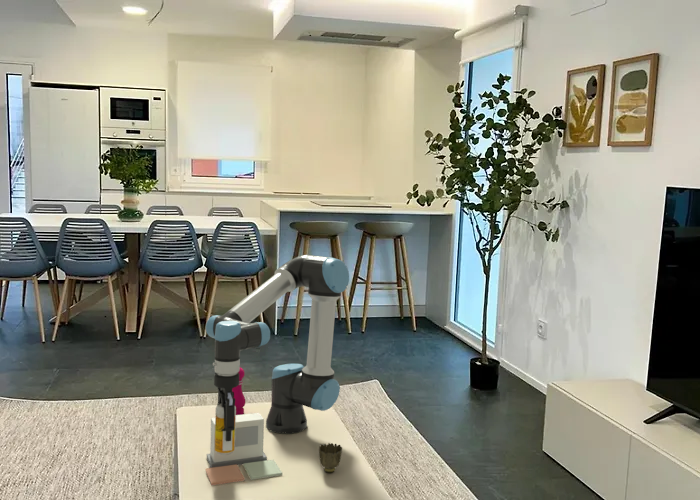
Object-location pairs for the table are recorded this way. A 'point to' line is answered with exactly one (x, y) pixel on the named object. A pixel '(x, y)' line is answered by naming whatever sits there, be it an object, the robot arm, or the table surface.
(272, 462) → the sage pad
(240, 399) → the pepper mill
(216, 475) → the terracotta pad
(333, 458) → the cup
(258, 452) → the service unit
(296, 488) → the table surface
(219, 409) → the beer can
